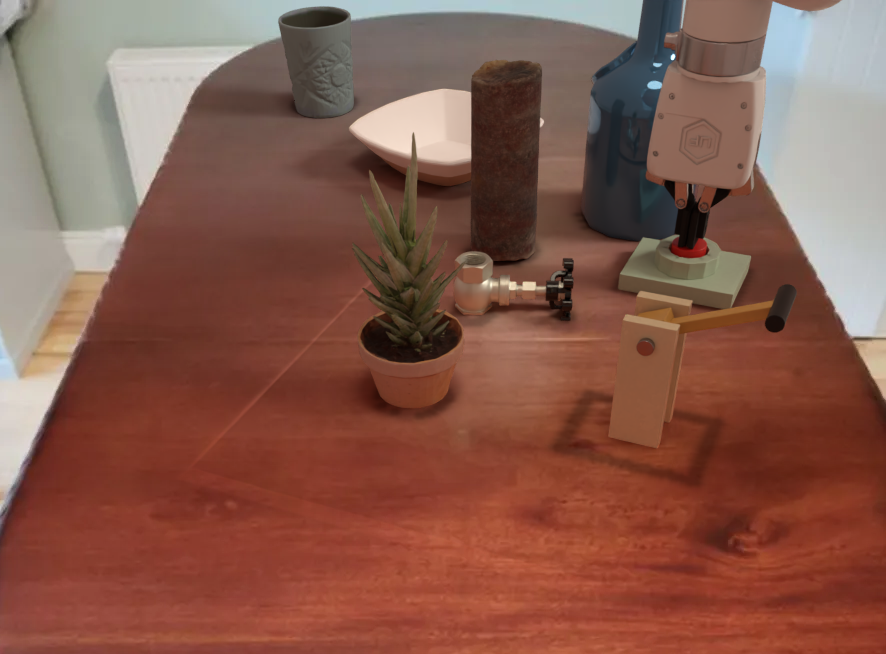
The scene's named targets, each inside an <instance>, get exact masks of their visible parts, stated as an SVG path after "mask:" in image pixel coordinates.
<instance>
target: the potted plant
mask: <svg viewBox="0 0 886 654" xmlns="http://www.w3.org/2000/svg"><path fill="white" fill-rule="evenodd" d="M417 175H418V171H417V152H416V142H415V135H414V132H413V134H412V155H411V170H410V167H409V166H408V168H407V174H406V175H405V183H404V193H403V202H402V203H401V201H400V202H399V209H398V223H397V219H396V215H395V211H394V208H393V206H392V204H391V202H388V204H387V201H386V199H385V197H384V195H383V193H382V190H381V189H380V187H379V184H378V183H377V180H376V179H375V175H374V173H373V172H372V171H371V170H370V169H368V176H369V183H370V187H371V191H372V194H373V197H374V201H375V205H376V208H377V211H378V215H379V217H380V219H381V222H382V225H383V226H382V225H381V224H380V221H379V220H378V219H377V217H376V216H375V214H374V212H373V210H372V209H371V207H370V205H369V204H368V202H367V201H366V198H365V195H364V194H360V201H361V205H362V209H363V212H364V214H365V218H366V220H367V223H368V224H369V227H370V230H371V232H372V235H373V236H374V239H375V240H376V242H377V246H378V247H379V249H380V251H381V254H382V255H378V260H379V262H377V261H376V260H375V259H373V258H372V257H370V256H369V255H368V254H367V253H365V251H363V250H362V249H361V248H360V247H359V246H358V245H356V244H355V243H354V242H352V244H351V245H352V248H351V250H352V251H353V253H354V254H353V255H354V256H355V259H356V260H357V262H358V264H359V265H360V267H361V269H362V271H364V273H365V275H366V276H367V278H368V279H369V280H370V282H371V283H372V285H373V286H374V288H375V289H376V290H377V291H378V293H379V295H380V296H377V295H376V294H375V293H373V292H371V291H369V290H368V289H367V288H365V287H362V288H361V289H362V291H363V292H364V293H365V294H366V296H368V300H369V301H370V302H371V303H372V304H373V305H374V306H375V307H376V308H377V309H379V310H381V311H379V312H377V313H376V314H373V315H372V316H370V317H367V319H366V320H364V322H363V323H362V324H361V326H360V327H359V329H358V332H357V335H356V340H357V347H358V353H359V355H360V358H361V360H362V361H363V363H364V364H365V365H366V366H367V367H368V370H369V371H370V375H371V376H372V379H373V382H374V385H375V387H376V390H377V392H378V395H379V397H380V398H381V399H382V400H383V401H384V402H385V403H387V404H389V405H392V406H394V407H397V408H402V409H421V408H422V409H423V408H427V407H430V406H434V405H435V404H437V403H438V402H440V401H441V400H443V399H444V398H445V397H446V395H447V394H448V392H449V389H450V384H451V380H452V377H453V375H454V372H455V370H456V369H455V368H456V367H457V366H456V365H457V363H458V361H459V360H460V359H461V358H462V356H463V355H464V350H465V330H464V327H463V325H462V323H461V322H460V320H459V319H458V318H457V317H456V316H454V315H453V314H451V313H449V312H448V311H447V310H446V309H443V310H442V309H439V308H440V306H441V302H440V300H441V298H442V296H443V295H444V293H445V290H446V288H447V286H448V285H449V284H451V282H452V281H453V279H454V278H456V277H457V276H456V275H457V273H458V272H459V271H460V270H461V269H462V267H463V266H464V264H465V262H466V261H465V262H463V263H462V264H461V265H460V266H459V267H458V268H457V269H456V270H455V269H454V270H453V271H452V272H451V273H450V274H449V275H448V276H447V277H446V274H447V273H446V271H444V272H442V273H441V274H439V276H437V278H435V279H434V280H433V279H432V278H433V276H434V274H435V273H436V271H437V270H438V268H439V265H440V263H441V260H442V258H443V257H444V254H445V252H446V250H447V246H448V240H449V239H445V241H444V242H443V244H442V245H441V246H440V247H439V249H438V251H437V252H436V253H435V255H434V256H433V257H432V258H431V259H430V260H429V261H428V258H429V254H430V250H431V246H432V242H433V236H434V233H435V229H436V225H437V224H436V223H437V220H438V206H437V205H436V206H435V207H434V208H433V210H432V213H431V214H430V216H429V219H428V221H427V223H426V225H425V227H424V228H423V230H422V232H421V234H419V236H418V238H417V239H416V236H417V235H416V234H417V206H418V205H417V204H418V203H417V202H418V193H417V192H418V189H417V188H418V180H417ZM383 227H384V228H383ZM427 261H428V262H427Z"/></svg>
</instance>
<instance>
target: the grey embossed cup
mask: <svg viewBox="0 0 886 654" xmlns="http://www.w3.org/2000/svg"><path fill="white" fill-rule="evenodd" d="M277 24H278V28H279V33H280V37H281V42H282V45H283V48H284V57H285V59H286V65H287V69H288V75H289V79H290V82H291V84H292V85H291V91H292V96H293V101H294V100H295V101H294V107H295V110H296V111H297V113H298V114H300V116H301V115H302V116H304V117H308V118H314V119H327V118H334V117H335V118H336V117H339V116H343V115H346V114H347V113H349V112H351V111H352V110H353V109H354V105H355V94H354V79H353V78H354V69H353V67H354V64H353V63H354V62H353V61H354V60H353V56H352V48H353V47H352V15H351V12H349V11H348V10H346V9H344V8H340V7H336V6H329V5H328V6H324V5H323V6H322V5H321V6H308V7H307V6H306V7H301V8H296V9H292V10H289V11H286V12H285V13H283V14H281V15H280V16H279V17H278V20H277ZM296 102H297V103H296Z"/></svg>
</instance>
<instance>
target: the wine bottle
mask: <svg viewBox="0 0 886 654" xmlns="http://www.w3.org/2000/svg"><path fill="white" fill-rule="evenodd" d="M684 2H685V0H642V4H641V11H640V18H639V24H638V25H639V26H638V32H637V33H638V34H637V39H636V40H635V41H634V42H633V43H632V44H630V45H629V46H627V48H626V49H624V50H623V51H621V52H620V53H619V54H618V55H617V56H616V57H615V58H613V59H612V60H610V61H609V62H607V63H606V64H604V65H602V66H601V67H600V68H599V69H597V70H596V71H595V72H594V73H593V74H592V75H591V77H590V82H591V83H592V87H591V89H590V94H589V104H588V106H589V107H588V118H587V130H586V141H585V142H586V143H585V151H584V152H585V155H584V164H583V178H582V189H581V201H580V202H581V203H580V210H581V212H582V215H583V218H584V219H585V221H586V222H587V225H588V226H589V228H591V229H592V230H595V231H596V232H599V233H600V234H603V235H605V236H607V237H608V238H614V239H619V240H626V241H633V242H640V241H641V240H642V238H643V237H644V238H650V239H656V240H663V239H665V238H668V237H670V236H673V235H676V234H674V232H675V225H676V219H677V213H678V208H677V207H676V205H675V200H674V199H673V197H672V196H671V195H670V193H669V192H668V191H667V189H666V188H665V186H661V185H658V184H656V183H654V182H651V181H649V180H647V179H646V177H645V174H646V171H647V156H648V149H649V143H650V138H651V133H652V128H653V122H654V117H655V112H656V108H657V103H658V99H659V95H660V91H661V87H662V83H663V80H664V77H665V74H666V71H667V68H668V66H669V65H670V64H671V63H672V62H673V61H675V60H676V55H675V51H672V50H671V49H668V48H664V40H665V36H666V33H667V32H670V33H675V31H677V32H679V30H680V29H681V28H682V23H683V13H684V12H683V11H684ZM699 186H700V185H696V184H693V195H694V196H695V198H696V200H695V201H697V199H698V192H699V188H700V187H699Z"/></svg>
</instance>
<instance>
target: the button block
mask: <svg viewBox="0 0 886 654" xmlns="http://www.w3.org/2000/svg"><path fill="white" fill-rule="evenodd" d="M677 237H679V235H676V234H675V235H672V236H670V237H668V238H665V239H657V240H656V239H650V238H644V237H643V238H642V240H641V241H639V243H638V244H637V246H636V247H635V249H634V250H633V252H632V254H631V255H630V257H629V258H628V260H627V262H626V263H625V265H624V267H623V268H622V270H621V271H620V273H619V275H618V276H619V277H618V283H617V284H618V285H617V290H619V291H624V292H630V293H635V294H638V293H639V292H640V291H644V292H650V293H655V294H660V295H666V296H671V297H676V298H682V299H687V300H692V301H693V302H692V304H694V305H700V306H705V307H710V308H715V309H719V310H723V309H728V308H733V305H734V303H735V301H736V298H737V296H738V294H739V292H740V289H741V287H742V285H743V284H744V281H745V280H746V277H747V275H748V273H749V269H750V265H751V260H752V256H751V255H749V254H744V253H737V252H732V251H725V250H722V249H721V248H720V246H719V245H718V243H717V242H715V241H713V240H711V239H710V238H707V237H705V236H704V238H703V239H704V240H705V241H706V242H707V249H706V254H705V256H703V257H700V258H683V257H678V256H676V255H674V254H673V253H671V247H672V241H673V240H674V239H675V238H677Z"/></svg>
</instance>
